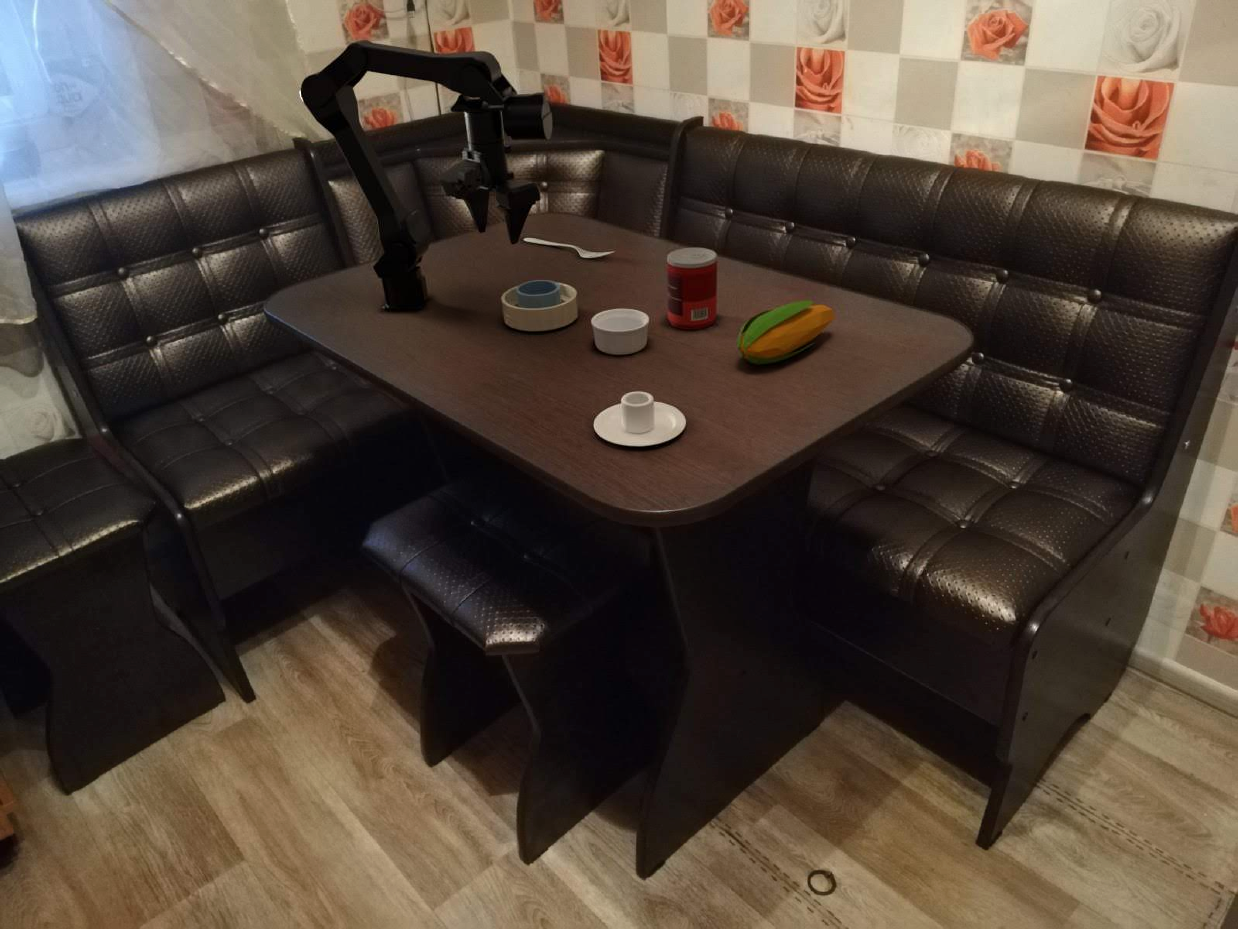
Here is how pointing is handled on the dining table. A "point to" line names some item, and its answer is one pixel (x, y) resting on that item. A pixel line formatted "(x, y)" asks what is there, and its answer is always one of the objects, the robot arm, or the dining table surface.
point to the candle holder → (639, 421)
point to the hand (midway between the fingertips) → (497, 237)
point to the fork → (582, 252)
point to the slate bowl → (538, 294)
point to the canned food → (692, 288)
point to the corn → (782, 331)
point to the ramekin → (620, 331)
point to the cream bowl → (540, 311)
